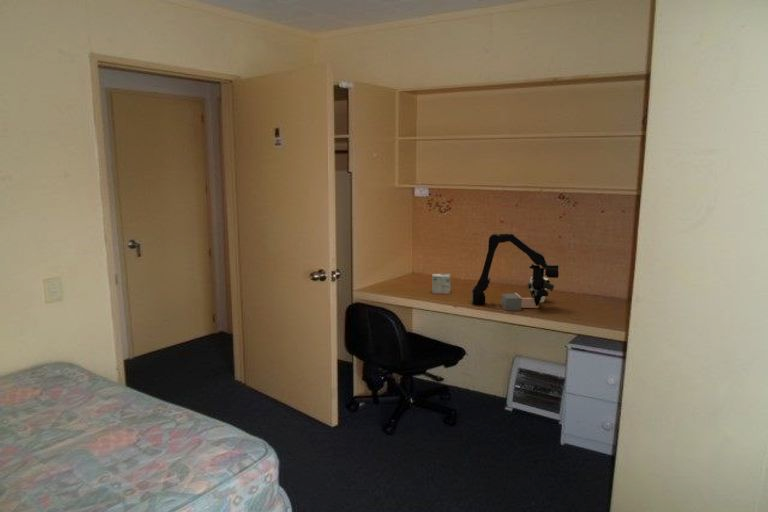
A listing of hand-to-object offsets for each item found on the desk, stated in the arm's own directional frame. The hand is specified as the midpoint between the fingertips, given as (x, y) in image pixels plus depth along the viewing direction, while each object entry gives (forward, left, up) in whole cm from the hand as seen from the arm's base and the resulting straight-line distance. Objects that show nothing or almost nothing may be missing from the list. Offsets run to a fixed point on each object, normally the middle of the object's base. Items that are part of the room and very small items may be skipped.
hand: (536, 305), depth 294 cm
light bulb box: (-47, +35, -2) cm, 58 cm away
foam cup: (+5, +14, -2) cm, 15 cm away
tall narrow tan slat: (-4, 0, -1) cm, 4 cm away
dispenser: (-14, 0, -1) cm, 14 cm away
